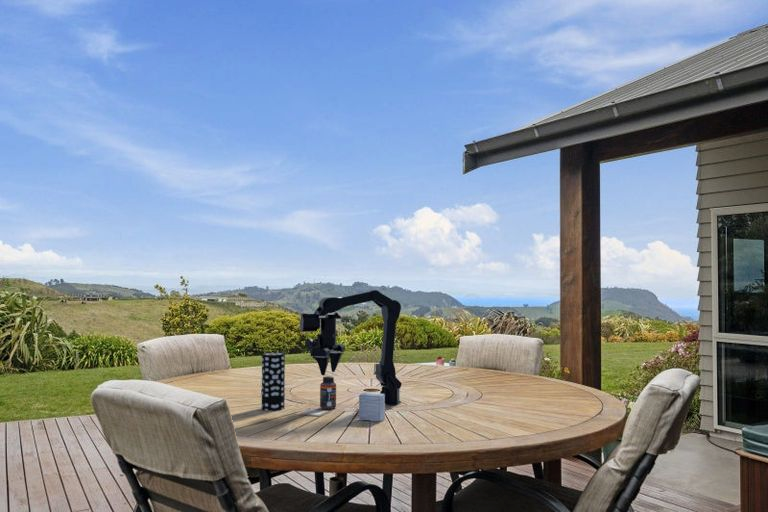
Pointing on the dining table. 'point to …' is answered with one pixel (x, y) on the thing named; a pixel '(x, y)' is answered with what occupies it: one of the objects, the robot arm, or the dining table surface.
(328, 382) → the supplement bottle
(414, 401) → the dining table surface
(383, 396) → the medicine box
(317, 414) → the coaster
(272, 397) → the spotted tube
